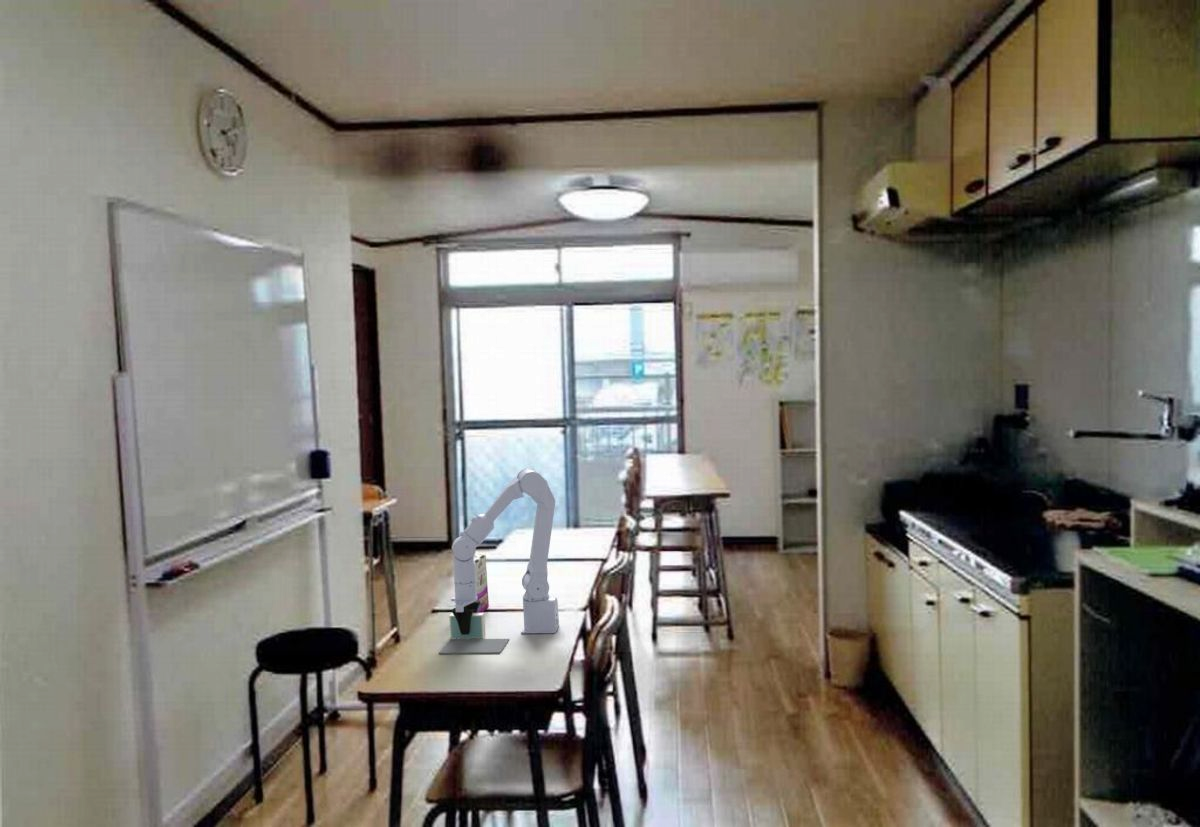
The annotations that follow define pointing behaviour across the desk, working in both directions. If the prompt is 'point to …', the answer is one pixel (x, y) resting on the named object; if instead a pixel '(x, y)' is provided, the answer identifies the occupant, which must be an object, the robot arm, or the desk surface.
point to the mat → (474, 646)
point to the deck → (475, 627)
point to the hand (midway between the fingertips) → (467, 631)
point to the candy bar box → (481, 581)
